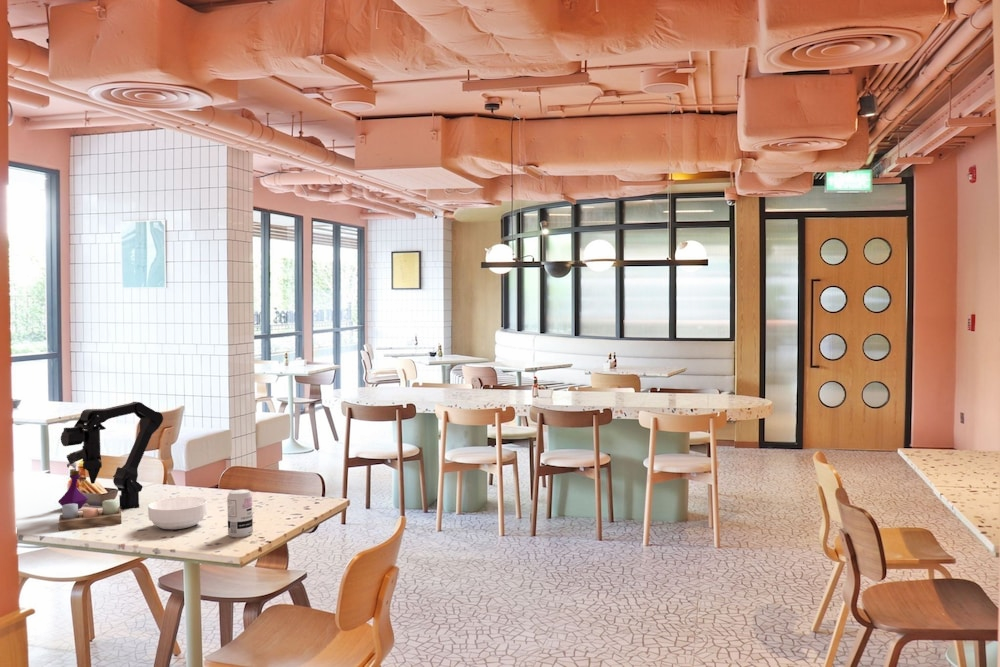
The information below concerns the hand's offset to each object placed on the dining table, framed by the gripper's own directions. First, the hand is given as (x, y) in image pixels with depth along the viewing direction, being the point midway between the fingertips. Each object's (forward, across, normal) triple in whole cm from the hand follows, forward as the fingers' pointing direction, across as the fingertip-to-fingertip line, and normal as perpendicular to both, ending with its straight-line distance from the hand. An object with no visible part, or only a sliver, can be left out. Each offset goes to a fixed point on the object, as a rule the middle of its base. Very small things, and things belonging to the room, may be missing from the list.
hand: (92, 483), depth 306 cm
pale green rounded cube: (+9, +13, +5) cm, 17 cm away
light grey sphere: (+9, +13, -8) cm, 18 cm away
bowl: (+12, +33, +27) cm, 44 cm away
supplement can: (+12, +55, +45) cm, 72 cm away
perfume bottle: (+12, -15, -7) cm, 21 cm away
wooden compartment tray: (+12, +13, -1) cm, 18 cm away
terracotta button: (+12, +13, -1) cm, 18 cm away
